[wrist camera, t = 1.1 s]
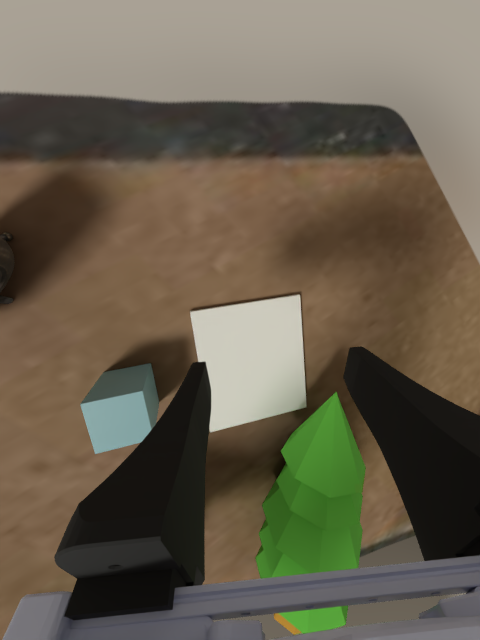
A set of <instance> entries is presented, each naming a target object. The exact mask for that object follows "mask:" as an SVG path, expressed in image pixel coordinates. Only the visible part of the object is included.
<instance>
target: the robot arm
mask: <svg viewBox="0 0 480 640" xmlns="http://www.w3.org/2000/svg"><path fill="white" fill-rule="evenodd" d="M343 378H344V380H345V383H346V385H347V388H348V390H349V392H350V395H351V397H352V399H353V400H354V402H355V404H356V406H357V408H358V409H359V411H360V413H361V415H362V416H363V418H364V420H365V421H366V423H367V425H368V427H369V428H370V430H371V432H372V434H373V435H374V437H375V439H376V441H377V443H378V445H379V447H380V449H381V451H382V453H383V455H384V458H385V460H386V462H387V464H388V466H389V469H390V471H391V473H392V476H393V478H394V481H395V483H396V485H397V488H398V490H399V492H400V495H401V498H402V500H403V503H404V505H405V508H406V510H407V513H408V515H409V518H410V521H411V523H412V526H413V529H414V532H415V535H416V537H417V540H418V543H419V545H420V549H421V552H422V555H423V557H424V560H425V561H423V562H413V563H404V564H393V565H384V566H375V567H366V568H356V569H347V570H337V571H328V572H319V573H309V574H300V575H291V576H281V577H272V578H262V579H253V580H244V581H234V582H225V583H216V584H206V585H202V583H203V582H204V580H205V573H204V508H205V463H206V451H207V443H208V434H209V425H210V416H211V386H210V381H209V376H208V371H207V366H206V361H205V362H195V363H193V364H192V365H191V367H190V369H189V371H188V373H187V375H186V377H185V379H184V381H183V383H182V385H181V386H180V388H179V390H178V392H177V393H176V395H175V397H174V398H173V400H172V401H171V403H170V405H169V406H168V408H167V409H166V411H165V412H164V414H163V415H162V416H161V418H160V419H159V421H158V422H157V423H156V425H155V426H154V427H153V428H152V430H151V431H150V432H149V434H148V435H147V436H146V437H145V438H144V440H143V441H142V442H141V443H140V444H139V445H138V447H137V448H136V449H135V450H134V451H133V452H132V453H131V454H130V455H129V456H128V458H127V459H126V460H125V461H124V462H123V463H122V464H121V465H120V466H119V467H118V468H117V469H116V470H115V471H114V472H113V473H112V474H111V475H110V476H109V477H108V478H107V479H106V480H105V481H104V482H102V483H101V484H100V485H99V486H98V487H97V488H96V489H95V490H94V491H93V492H92V493H90V494H89V495H88V496H87V497H86V498H85V499H84V500H83V501H82V502H80V503H79V505H78V507H77V509H76V511H75V512H74V514H73V516H72V518H71V520H70V522H69V524H68V526H67V529H66V531H65V533H64V536H63V538H62V540H61V543H60V545H59V547H58V550H57V552H56V554H55V562H56V564H57V565H58V566H59V567H60V568H61V569H63V570H64V571H66V572H68V573H69V574H71V575H72V576H74V577H75V578H77V581H76V584H75V587H74V590H73V593H72V592H65V591H61V592H49V593H40V594H31V595H25V596H24V597H23V598H22V599H21V601H20V603H19V605H18V607H17V609H16V612H15V614H14V616H13V618H12V620H11V622H10V624H9V627H8V629H7V631H6V633H5V635H4V637H3V639H2V640H265V634H264V633H263V631H262V624H261V623H260V621H255V620H223V621H217V622H213V621H212V620H219V619H228V618H238V617H247V616H256V615H265V614H275V613H284V612H293V611H302V610H312V609H321V608H330V607H339V606H348V605H357V604H367V603H376V602H385V601H393V600H403V599H413V598H422V597H430V596H440V595H450V594H459V593H466V594H464V595H460V596H455V597H451V598H446V599H442V600H439V602H438V604H437V605H436V606H434V607H433V608H431V609H429V610H426V611H424V612H422V613H420V614H419V619H413V620H402V621H393V622H383V623H374V624H366V625H359V626H352V627H344V628H338V629H330V630H324V631H317V632H311V633H305V634H299V635H293V636H287V637H280V638H274V639H268V640H480V416H479V415H477V414H474V413H472V412H470V411H468V410H466V409H464V408H462V407H460V406H458V405H456V404H454V403H452V402H450V401H448V400H446V399H444V398H442V397H441V396H439V395H437V394H435V393H433V392H431V391H430V390H428V389H426V388H425V387H423V386H421V385H420V384H418V383H416V382H415V381H413V380H411V379H410V378H408V377H407V376H405V375H404V374H402V373H400V372H399V371H397V370H396V369H394V368H393V367H392V366H390V365H389V364H387V363H386V362H384V361H383V360H381V359H380V358H378V357H377V356H375V355H374V354H373V353H371V352H370V351H368V350H367V349H365V348H363V347H352V348H350V349H349V354H348V358H347V363H346V367H345V372H344V377H343Z"/></svg>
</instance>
